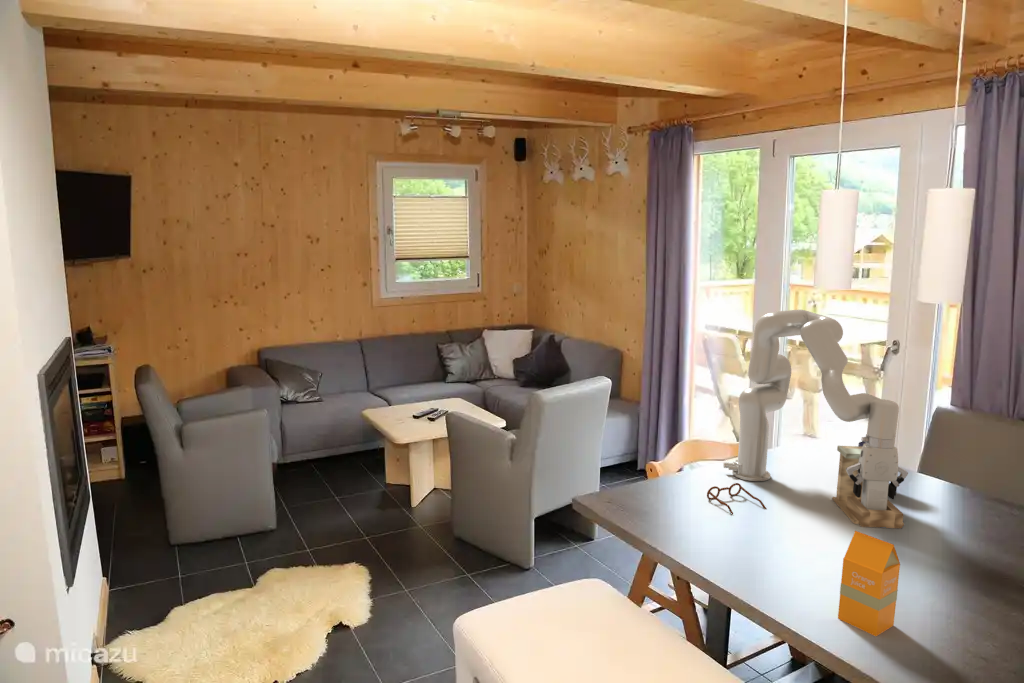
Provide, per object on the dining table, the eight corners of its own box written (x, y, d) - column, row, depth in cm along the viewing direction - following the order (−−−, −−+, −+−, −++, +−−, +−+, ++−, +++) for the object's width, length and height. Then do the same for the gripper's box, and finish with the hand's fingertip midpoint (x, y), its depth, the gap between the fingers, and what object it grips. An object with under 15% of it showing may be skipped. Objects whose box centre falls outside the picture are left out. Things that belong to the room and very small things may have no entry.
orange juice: (875, 636, 156) (884, 549, 152) (837, 618, 163) (844, 534, 159) (894, 625, 160) (903, 540, 157) (855, 607, 167) (863, 526, 164)
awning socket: (856, 526, 212) (862, 467, 209) (832, 499, 232) (837, 445, 229) (906, 528, 211) (912, 469, 208) (877, 501, 231) (883, 446, 228)
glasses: (739, 495, 236) (740, 481, 235) (767, 510, 224) (768, 495, 223) (705, 501, 231) (706, 486, 230) (732, 516, 219) (733, 501, 218)
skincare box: (879, 514, 219) (883, 476, 217) (885, 519, 215) (889, 481, 213) (859, 513, 220) (862, 475, 218) (864, 518, 215) (868, 480, 213)
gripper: (854, 444, 210) (848, 500, 214) (916, 447, 209) (909, 503, 212) (845, 436, 218) (839, 490, 221) (905, 439, 216) (898, 493, 219)
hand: (873, 496), depth 217 cm, fingers open, 9 cm apart
